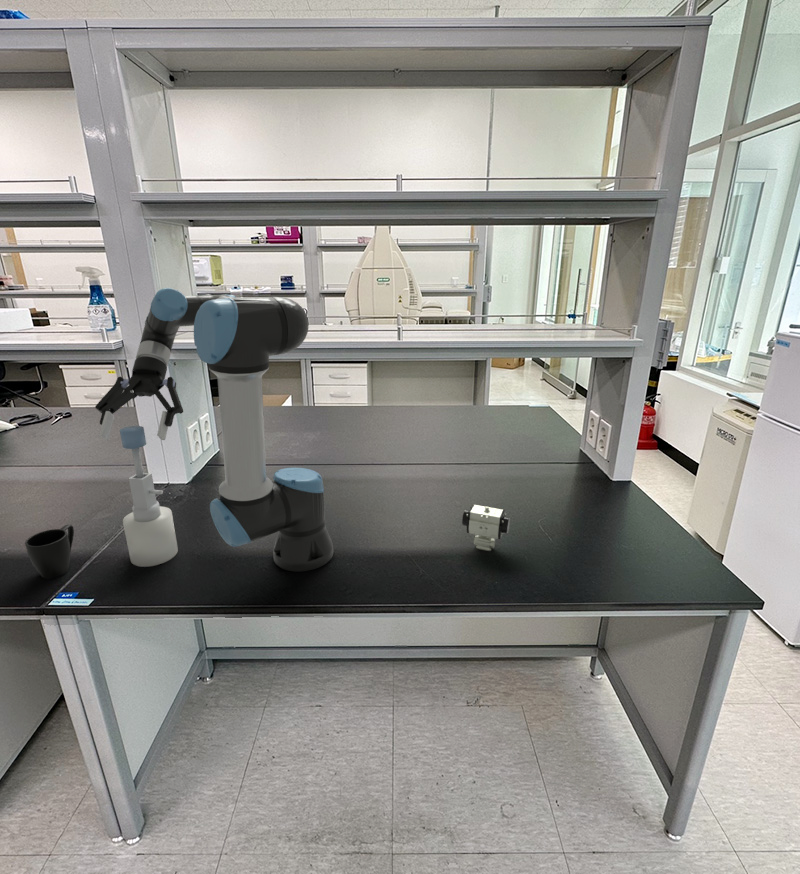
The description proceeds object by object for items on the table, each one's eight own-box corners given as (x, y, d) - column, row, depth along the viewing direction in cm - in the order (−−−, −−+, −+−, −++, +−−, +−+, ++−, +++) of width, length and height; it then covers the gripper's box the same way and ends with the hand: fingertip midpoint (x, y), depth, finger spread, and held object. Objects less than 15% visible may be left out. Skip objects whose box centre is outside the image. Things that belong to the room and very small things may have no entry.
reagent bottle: (186, 545, 130) (174, 468, 123) (161, 568, 120) (146, 487, 112) (148, 541, 131) (134, 466, 124) (120, 564, 121) (103, 483, 114)
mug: (93, 555, 125) (86, 522, 122) (58, 583, 114) (49, 547, 111) (63, 553, 126) (55, 520, 123) (25, 581, 114) (15, 545, 111)
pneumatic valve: (464, 538, 134) (467, 499, 130) (507, 547, 130) (511, 507, 126) (459, 548, 129) (461, 508, 125) (504, 558, 125) (507, 516, 121)
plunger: (156, 476, 121) (148, 426, 116) (143, 484, 116) (134, 433, 112) (138, 475, 121) (129, 425, 117) (124, 483, 117) (114, 431, 112)
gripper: (205, 371, 128) (190, 444, 119) (110, 371, 128) (88, 444, 119) (195, 354, 122) (178, 430, 112) (94, 354, 121) (69, 430, 112)
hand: (132, 437), depth 116 cm, fingers open, 13 cm apart
